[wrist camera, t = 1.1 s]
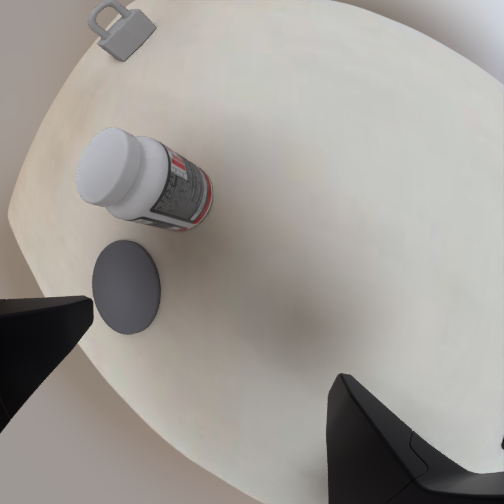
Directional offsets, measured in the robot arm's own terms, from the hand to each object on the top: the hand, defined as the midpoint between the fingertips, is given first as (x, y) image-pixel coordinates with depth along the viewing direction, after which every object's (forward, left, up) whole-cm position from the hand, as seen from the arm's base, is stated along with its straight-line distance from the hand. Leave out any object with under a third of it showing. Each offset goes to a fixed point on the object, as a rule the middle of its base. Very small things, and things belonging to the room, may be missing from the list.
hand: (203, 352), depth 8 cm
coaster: (+9, +12, -12) cm, 19 cm away
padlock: (+40, -2, -12) cm, 41 cm away
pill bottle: (+12, +2, -12) cm, 17 cm away
